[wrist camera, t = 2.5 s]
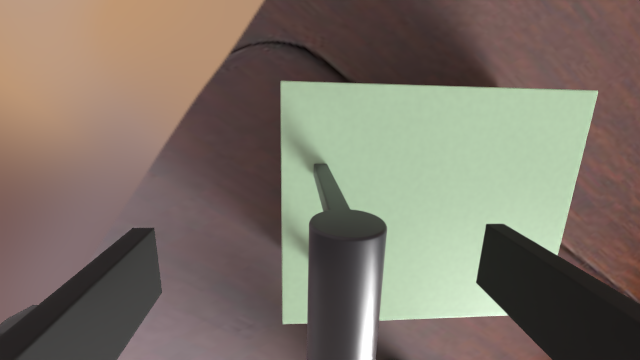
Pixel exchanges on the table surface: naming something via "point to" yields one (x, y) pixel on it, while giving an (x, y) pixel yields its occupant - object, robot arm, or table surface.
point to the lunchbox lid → (413, 198)
